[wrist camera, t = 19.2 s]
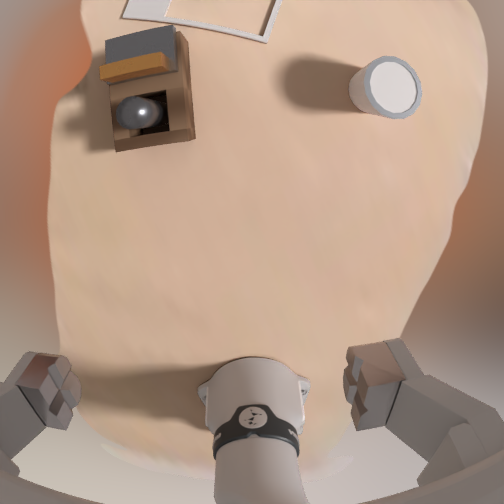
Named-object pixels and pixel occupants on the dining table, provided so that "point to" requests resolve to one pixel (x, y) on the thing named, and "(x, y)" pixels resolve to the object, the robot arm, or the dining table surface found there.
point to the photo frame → (156, 6)
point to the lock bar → (140, 55)
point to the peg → (141, 113)
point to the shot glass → (386, 88)
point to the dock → (155, 86)
